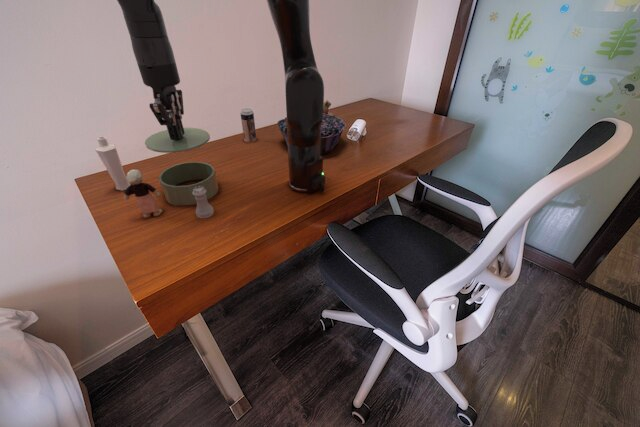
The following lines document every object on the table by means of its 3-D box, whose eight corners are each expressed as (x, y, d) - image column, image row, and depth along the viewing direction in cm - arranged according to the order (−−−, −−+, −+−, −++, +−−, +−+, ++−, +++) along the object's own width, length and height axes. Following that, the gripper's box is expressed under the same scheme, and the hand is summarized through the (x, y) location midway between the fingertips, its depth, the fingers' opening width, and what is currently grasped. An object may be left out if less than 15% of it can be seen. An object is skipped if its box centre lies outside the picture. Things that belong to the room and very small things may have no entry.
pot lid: (222, 141, 74) (218, 118, 70) (166, 161, 64) (158, 136, 60) (189, 127, 81) (183, 106, 77) (134, 143, 71) (125, 120, 67)
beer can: (253, 143, 110) (250, 112, 102) (242, 142, 110) (237, 111, 103) (258, 139, 113) (255, 108, 106) (247, 138, 114) (243, 107, 107)
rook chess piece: (216, 209, 75) (210, 183, 70) (211, 220, 71) (205, 193, 66) (199, 209, 75) (192, 183, 70) (194, 219, 71) (185, 193, 66)
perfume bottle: (128, 181, 85) (107, 133, 76) (135, 186, 83) (114, 137, 74) (112, 187, 82) (88, 138, 73) (118, 192, 80) (94, 142, 71)
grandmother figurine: (165, 206, 75) (149, 163, 68) (167, 214, 73) (150, 170, 65) (133, 214, 72) (112, 170, 65) (133, 222, 70) (111, 177, 62)
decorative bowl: (268, 156, 105) (264, 131, 99) (294, 126, 125) (293, 103, 119) (333, 167, 100) (334, 141, 93) (350, 134, 119) (352, 111, 113)
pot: (228, 190, 82) (224, 171, 79) (184, 213, 73) (177, 193, 69) (199, 175, 89) (195, 157, 85) (156, 194, 80) (148, 174, 76)
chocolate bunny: (320, 118, 136) (320, 96, 130) (335, 120, 134) (337, 98, 128) (316, 122, 132) (316, 99, 126) (332, 124, 130) (333, 101, 124)
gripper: (152, 55, 66) (173, 127, 77) (121, 66, 55) (150, 148, 66) (184, 56, 67) (201, 127, 77) (161, 67, 56) (183, 148, 66)
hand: (177, 136), depth 71 cm, fingers closed on pot lid, 2 cm apart
